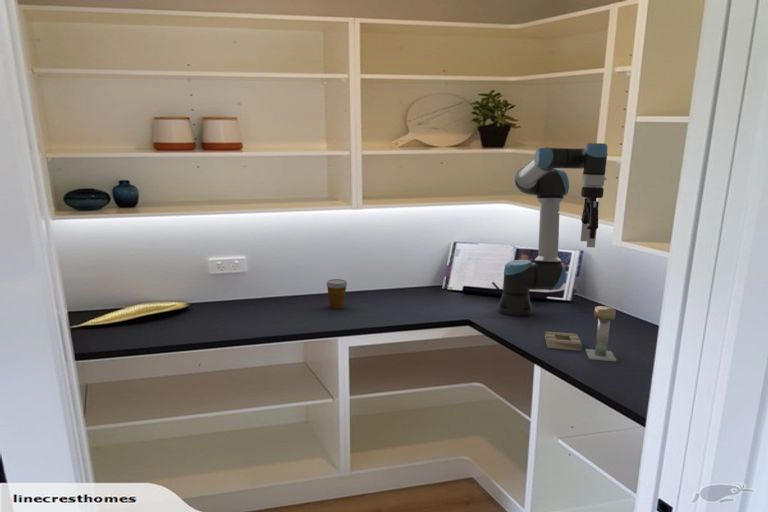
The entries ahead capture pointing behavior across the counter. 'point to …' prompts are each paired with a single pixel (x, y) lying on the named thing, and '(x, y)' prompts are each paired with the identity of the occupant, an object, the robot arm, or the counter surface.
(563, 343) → the plate
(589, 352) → the rubber mat
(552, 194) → the robot arm
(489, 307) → the counter surface
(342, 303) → the orange pill bottle
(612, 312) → the steel peg
